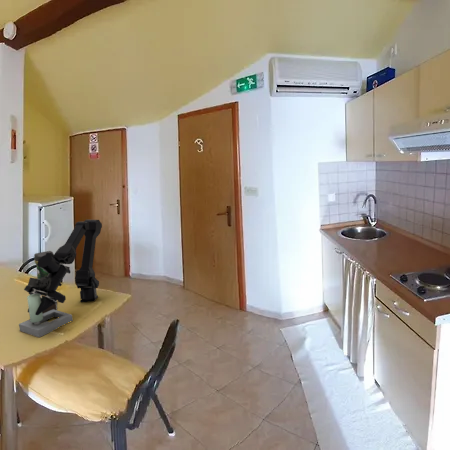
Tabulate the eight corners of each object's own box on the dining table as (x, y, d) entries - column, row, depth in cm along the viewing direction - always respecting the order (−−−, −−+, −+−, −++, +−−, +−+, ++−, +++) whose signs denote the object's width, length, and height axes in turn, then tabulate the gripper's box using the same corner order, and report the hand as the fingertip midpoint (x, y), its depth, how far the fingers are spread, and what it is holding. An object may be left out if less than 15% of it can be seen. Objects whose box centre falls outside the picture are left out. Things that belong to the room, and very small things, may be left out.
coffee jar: (54, 281, 191) (50, 249, 188) (59, 284, 186) (55, 251, 182) (35, 285, 184) (31, 252, 181) (40, 289, 179) (36, 255, 175)
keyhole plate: (53, 315, 148) (53, 309, 147) (72, 321, 142) (72, 314, 142) (19, 330, 135) (18, 323, 134) (39, 337, 129) (38, 330, 129)
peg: (46, 325, 137) (42, 293, 135) (41, 331, 133) (36, 298, 130) (34, 326, 137) (30, 293, 135) (28, 332, 133) (24, 298, 130)
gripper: (25, 265, 138) (1, 301, 131) (55, 272, 130) (31, 310, 122) (45, 278, 147) (23, 312, 139) (75, 284, 138) (53, 321, 130)
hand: (32, 313), depth 132 cm, fingers closed on peg, 4 cm apart
